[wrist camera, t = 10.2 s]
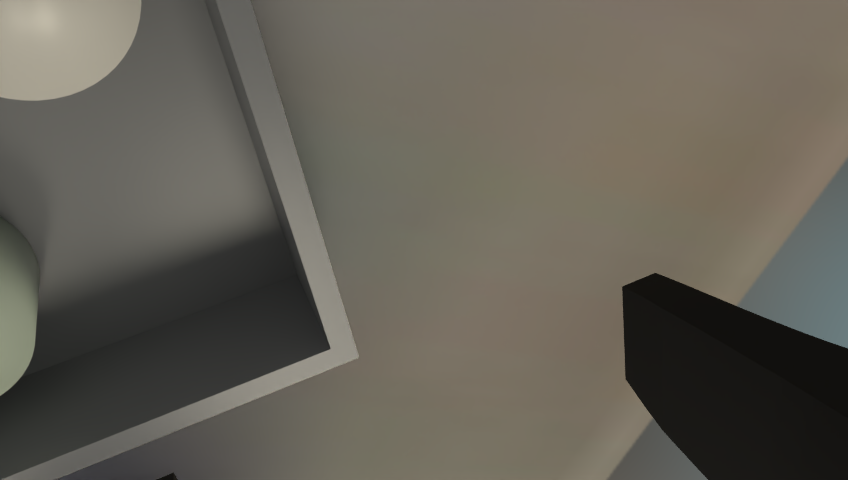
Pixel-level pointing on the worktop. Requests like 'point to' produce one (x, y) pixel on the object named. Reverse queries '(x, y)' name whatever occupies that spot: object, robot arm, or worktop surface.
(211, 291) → the storage box
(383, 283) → the worktop surface
